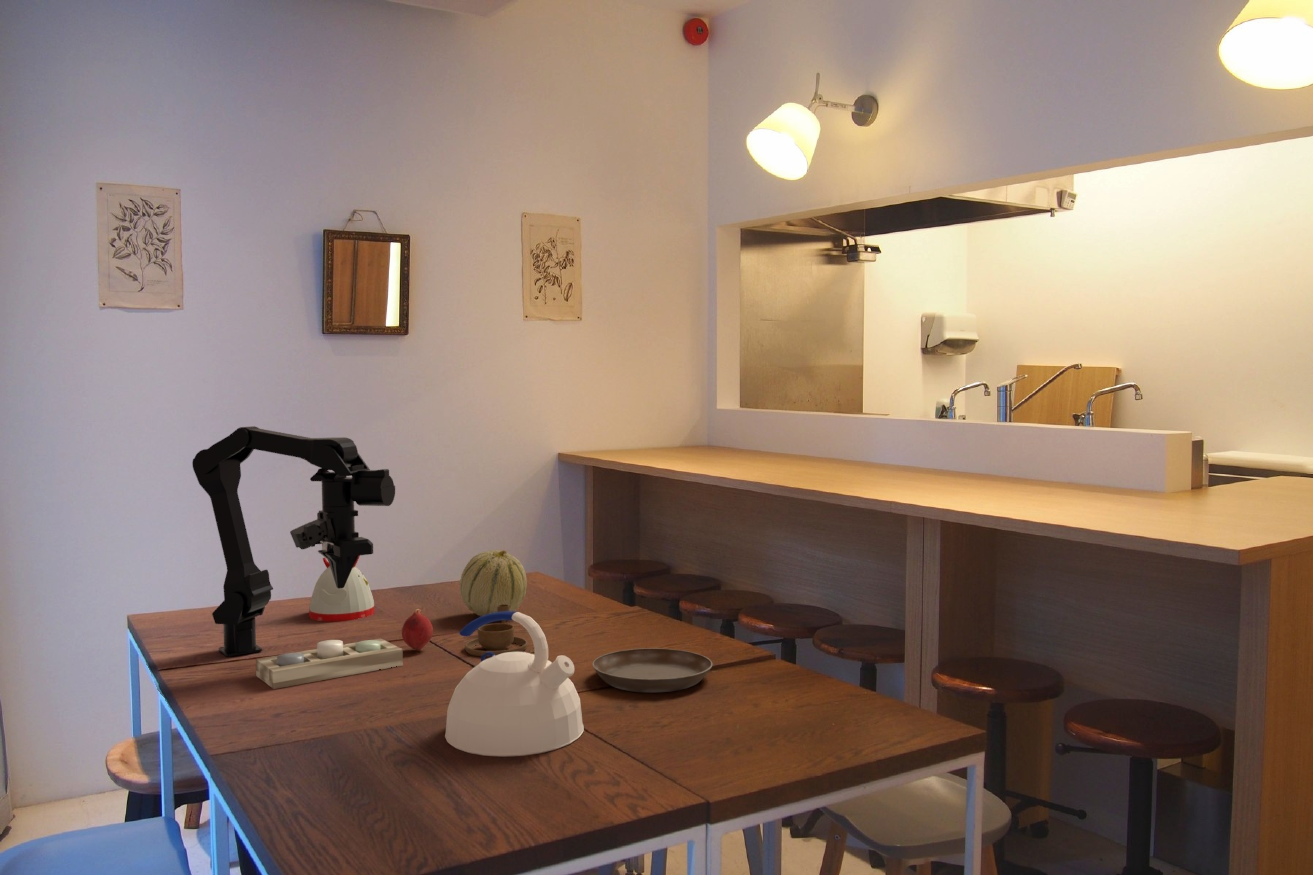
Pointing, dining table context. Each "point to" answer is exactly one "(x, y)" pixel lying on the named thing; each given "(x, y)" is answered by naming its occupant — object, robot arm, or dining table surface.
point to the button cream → (329, 649)
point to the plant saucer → (652, 669)
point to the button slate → (290, 659)
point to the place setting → (496, 638)
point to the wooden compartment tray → (328, 665)
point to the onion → (417, 630)
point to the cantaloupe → (493, 582)
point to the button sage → (367, 646)
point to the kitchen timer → (341, 597)
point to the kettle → (514, 699)
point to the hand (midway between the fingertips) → (340, 588)
